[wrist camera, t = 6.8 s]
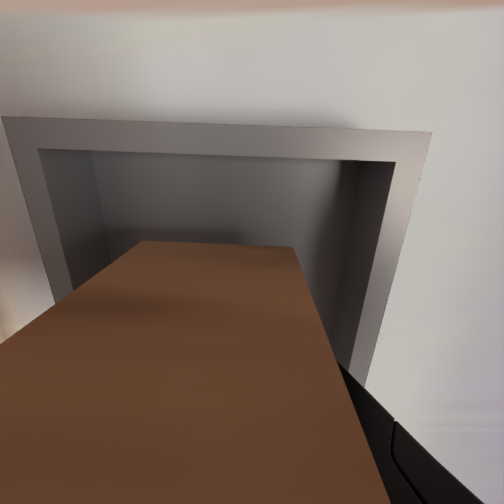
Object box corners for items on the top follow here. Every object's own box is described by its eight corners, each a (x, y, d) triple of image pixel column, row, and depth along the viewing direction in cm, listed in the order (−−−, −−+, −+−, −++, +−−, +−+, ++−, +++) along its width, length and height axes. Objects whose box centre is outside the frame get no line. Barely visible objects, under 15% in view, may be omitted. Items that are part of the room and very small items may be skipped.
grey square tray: (332, 366, 14) (353, 427, 11) (125, 357, 15) (87, 415, 11) (376, 139, 10) (432, 131, 7) (82, 128, 10) (0, 116, 7)
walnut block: (281, 363, 10) (323, 746, 4) (157, 357, 10) (-27, 725, 4) (292, 246, 8) (421, 584, 2) (142, 240, 8) (-281, 548, 2)
